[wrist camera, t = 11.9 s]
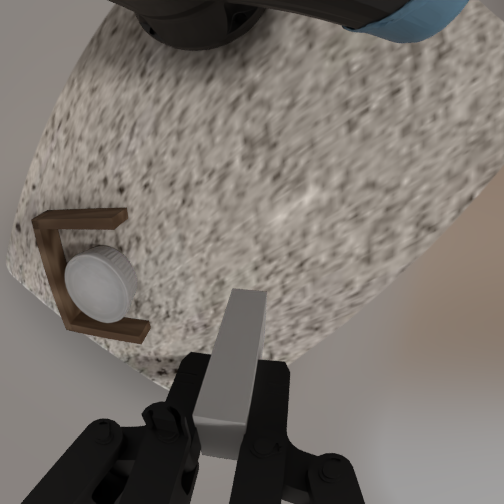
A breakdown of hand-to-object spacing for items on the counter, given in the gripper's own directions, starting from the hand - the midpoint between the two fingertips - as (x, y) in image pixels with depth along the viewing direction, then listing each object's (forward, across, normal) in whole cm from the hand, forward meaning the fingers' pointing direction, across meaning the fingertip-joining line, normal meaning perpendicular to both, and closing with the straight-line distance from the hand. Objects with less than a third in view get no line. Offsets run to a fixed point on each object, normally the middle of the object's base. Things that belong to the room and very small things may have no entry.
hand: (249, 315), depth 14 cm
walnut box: (+24, -27, -14) cm, 39 cm away
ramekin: (+24, -24, -15) cm, 37 cm away
